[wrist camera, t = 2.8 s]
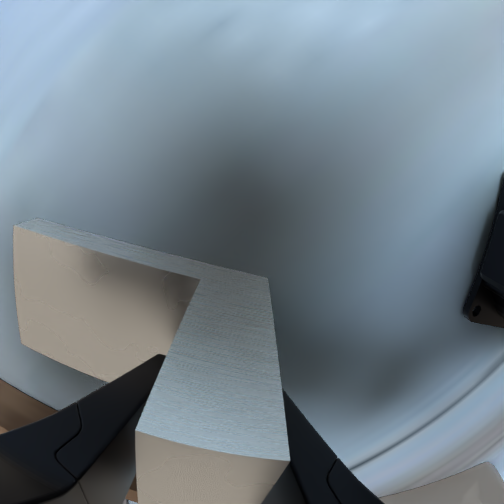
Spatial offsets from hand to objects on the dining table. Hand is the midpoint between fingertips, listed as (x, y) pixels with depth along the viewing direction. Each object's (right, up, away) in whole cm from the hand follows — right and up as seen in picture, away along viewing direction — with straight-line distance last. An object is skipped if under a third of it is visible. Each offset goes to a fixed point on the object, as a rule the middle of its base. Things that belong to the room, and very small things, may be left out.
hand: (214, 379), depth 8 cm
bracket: (-3, +1, +2) cm, 4 cm away
